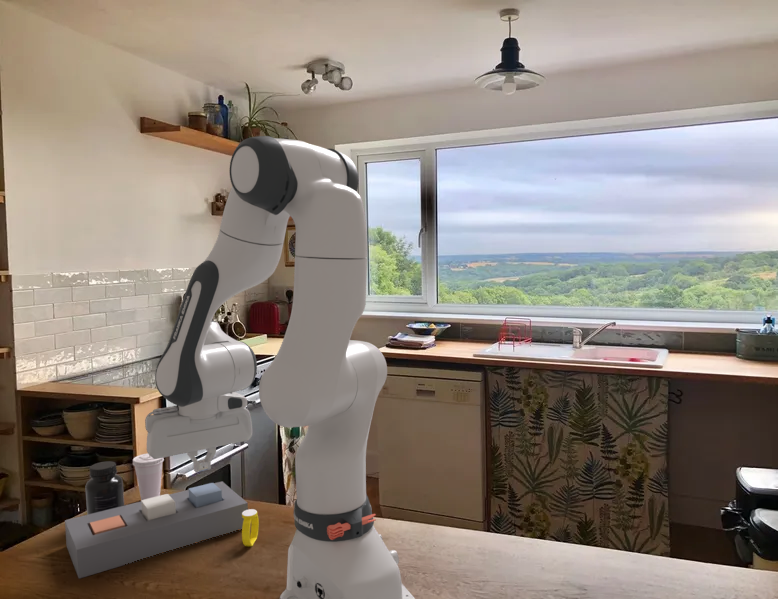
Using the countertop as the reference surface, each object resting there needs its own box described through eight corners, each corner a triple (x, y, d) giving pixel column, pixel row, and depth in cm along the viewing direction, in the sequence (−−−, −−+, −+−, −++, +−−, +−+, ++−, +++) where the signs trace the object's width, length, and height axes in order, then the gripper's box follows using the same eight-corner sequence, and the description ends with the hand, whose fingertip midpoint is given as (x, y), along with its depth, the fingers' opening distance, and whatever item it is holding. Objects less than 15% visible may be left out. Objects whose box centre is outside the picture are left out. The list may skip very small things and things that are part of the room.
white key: (169, 515, 118) (167, 493, 118) (176, 524, 114) (175, 502, 114) (142, 522, 115) (141, 500, 115) (149, 532, 111) (147, 509, 111)
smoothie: (155, 507, 128) (151, 443, 127) (128, 505, 129) (124, 442, 128) (171, 495, 134) (168, 434, 133) (146, 493, 136) (142, 433, 134)
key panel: (223, 503, 129) (222, 481, 129) (248, 527, 118) (247, 502, 117) (66, 546, 112) (64, 520, 111) (78, 578, 100) (76, 549, 100)
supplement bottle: (87, 520, 123) (83, 463, 122) (123, 512, 126) (120, 456, 125) (88, 533, 117) (84, 473, 116) (126, 525, 120) (123, 467, 119)
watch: (254, 551, 109) (251, 521, 108) (239, 551, 109) (236, 521, 108) (263, 533, 115) (261, 504, 114) (248, 533, 115) (246, 504, 114)
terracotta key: (120, 537, 113) (119, 515, 113) (126, 548, 109) (125, 524, 108) (91, 545, 110) (89, 522, 110) (96, 556, 106) (94, 532, 106)
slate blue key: (213, 503, 123) (212, 482, 123) (222, 511, 119) (221, 490, 119) (189, 509, 120) (188, 488, 120) (197, 518, 116) (196, 496, 116)
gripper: (149, 414, 109) (152, 487, 111) (254, 397, 121) (256, 464, 123) (140, 406, 115) (143, 476, 116) (242, 391, 126) (244, 455, 128)
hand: (202, 470), depth 119 cm, fingers closed
